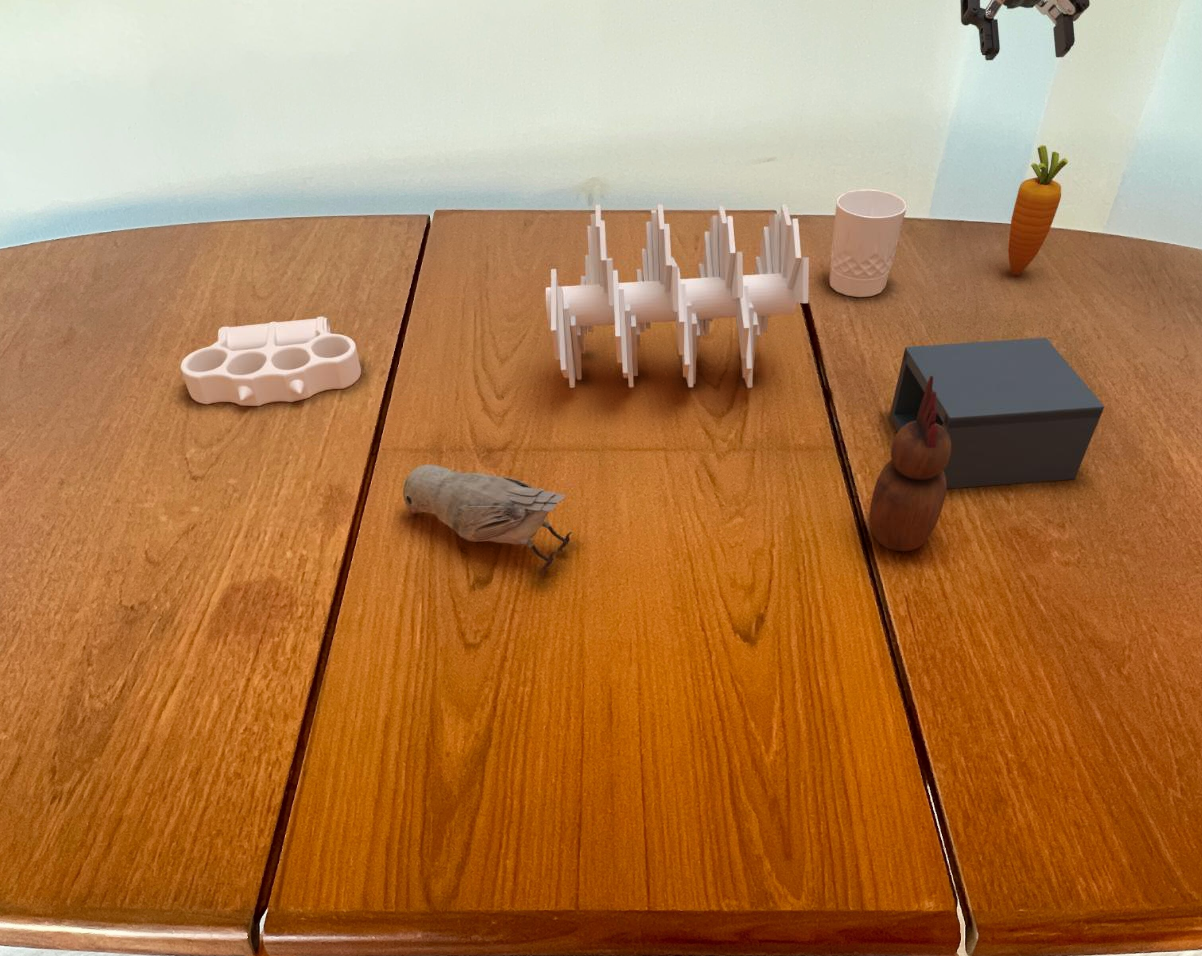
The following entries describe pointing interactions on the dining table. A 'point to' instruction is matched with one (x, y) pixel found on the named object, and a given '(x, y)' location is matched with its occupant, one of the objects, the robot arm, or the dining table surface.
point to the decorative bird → (483, 505)
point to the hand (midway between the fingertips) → (1028, 55)
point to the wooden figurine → (912, 481)
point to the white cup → (864, 241)
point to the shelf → (1001, 409)
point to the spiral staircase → (679, 293)
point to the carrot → (1034, 211)
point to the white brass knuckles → (271, 363)
